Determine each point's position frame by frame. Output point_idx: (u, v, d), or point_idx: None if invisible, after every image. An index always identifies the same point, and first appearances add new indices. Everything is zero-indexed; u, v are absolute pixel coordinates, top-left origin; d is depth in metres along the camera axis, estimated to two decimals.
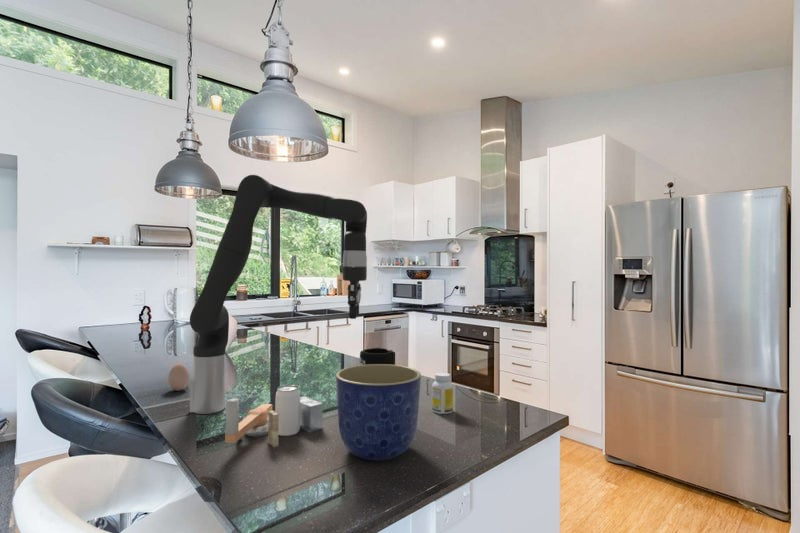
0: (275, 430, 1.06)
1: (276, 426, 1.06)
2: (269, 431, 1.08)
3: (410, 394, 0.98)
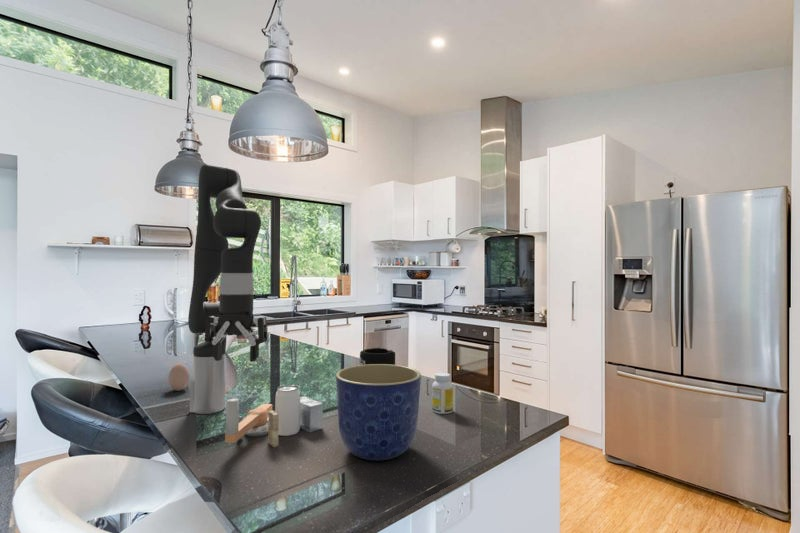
0: (275, 430, 1.06)
1: (276, 426, 1.06)
2: (269, 431, 1.08)
3: (410, 394, 0.98)
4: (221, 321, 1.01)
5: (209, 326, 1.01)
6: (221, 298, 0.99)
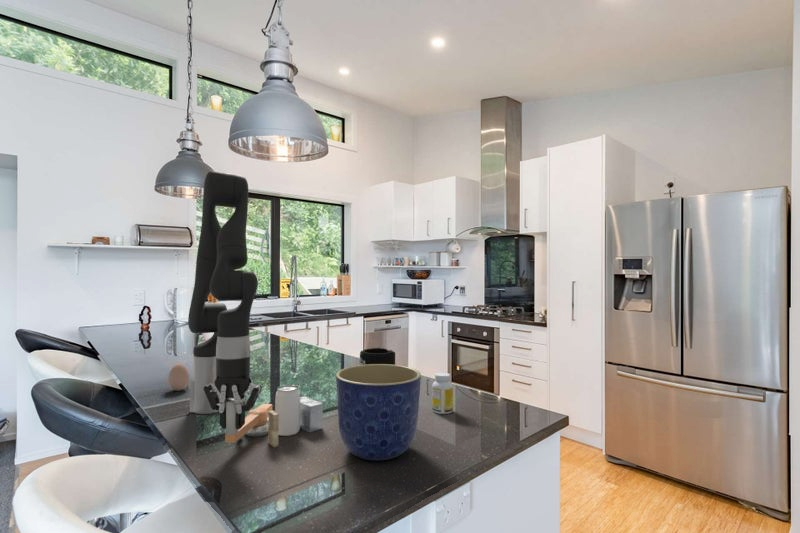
0: (275, 430, 1.06)
1: (276, 426, 1.06)
2: (269, 431, 1.08)
3: (410, 394, 0.98)
4: (218, 384, 1.00)
5: (210, 394, 1.00)
6: (217, 362, 0.98)
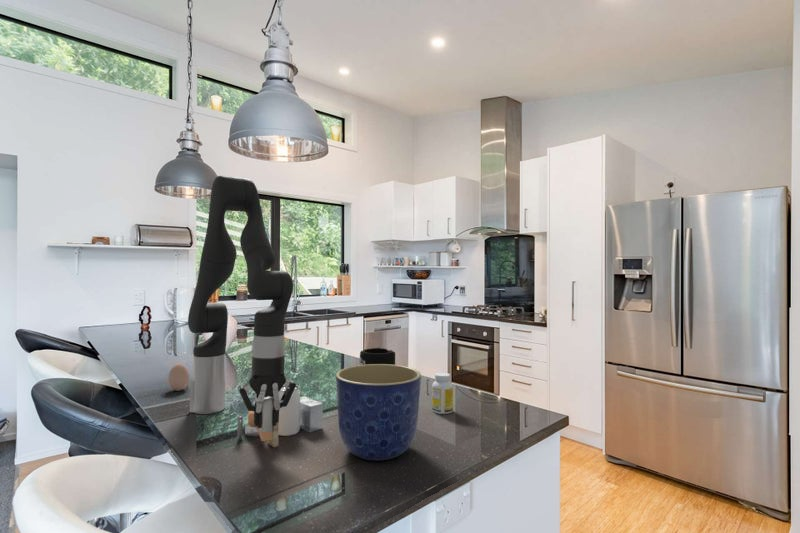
0: (275, 430, 1.06)
1: (276, 426, 1.06)
2: None
3: (410, 394, 0.98)
4: (255, 384, 1.00)
5: (246, 396, 0.99)
6: (261, 362, 0.99)
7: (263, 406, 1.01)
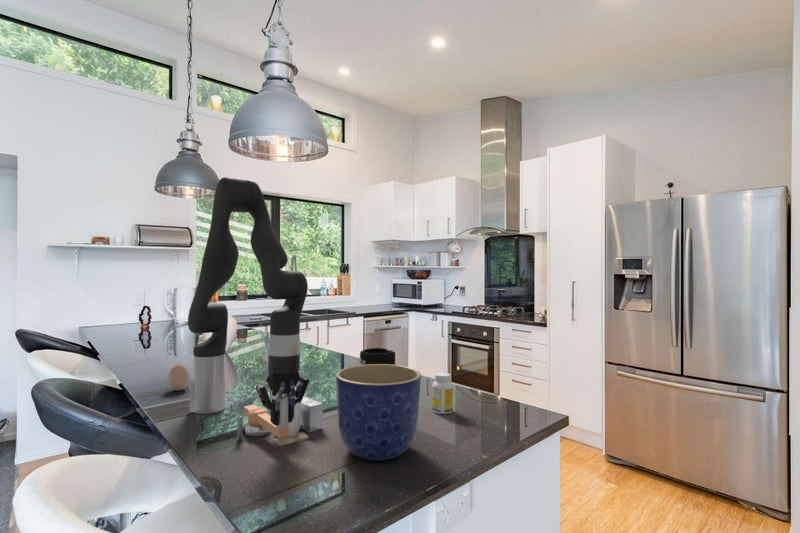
0: (294, 441, 1.09)
1: (297, 441, 1.10)
2: (286, 437, 1.11)
3: (410, 394, 0.98)
4: (274, 382, 1.02)
5: (266, 394, 1.00)
6: (282, 360, 1.01)
7: (281, 403, 1.03)
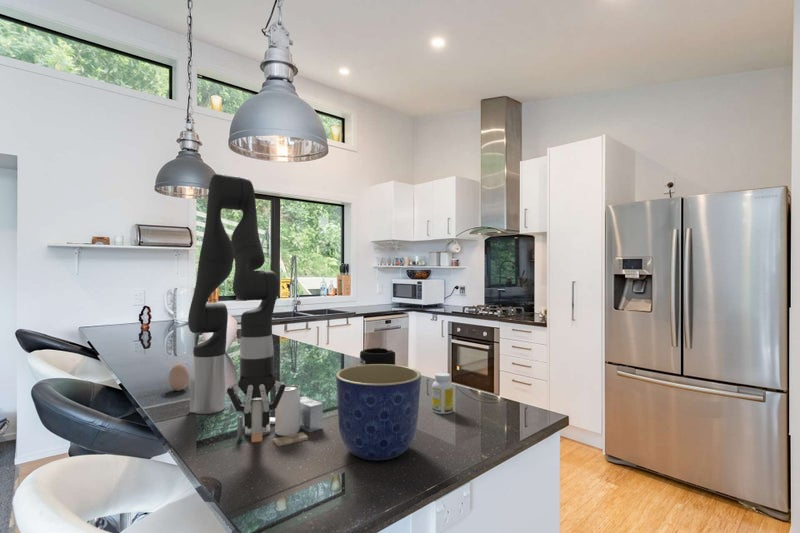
0: (293, 441, 1.09)
1: (296, 441, 1.10)
2: (285, 437, 1.11)
3: (410, 394, 0.98)
4: (242, 385, 1.00)
5: (234, 396, 1.00)
6: (245, 363, 0.98)
7: (253, 407, 1.00)
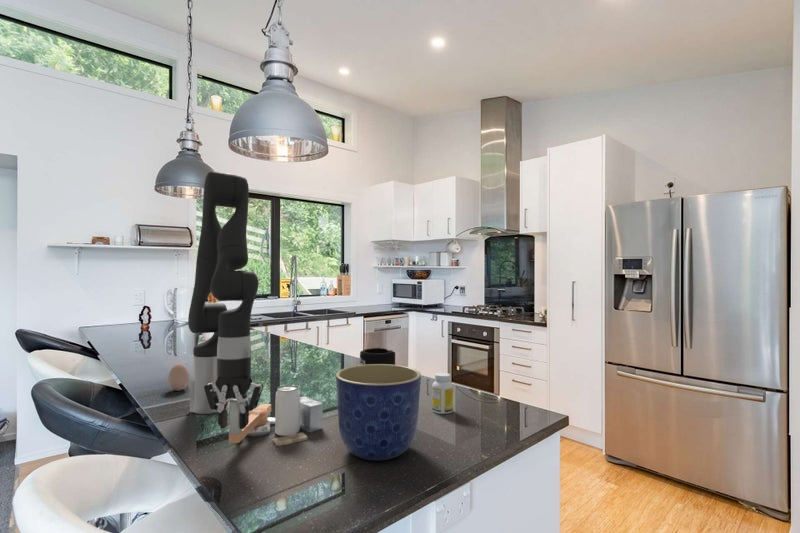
0: (292, 441, 1.09)
1: (296, 441, 1.09)
2: (285, 437, 1.11)
3: (410, 394, 0.98)
4: (219, 384, 1.00)
5: (210, 393, 1.00)
6: (218, 362, 0.98)
7: (230, 407, 1.00)
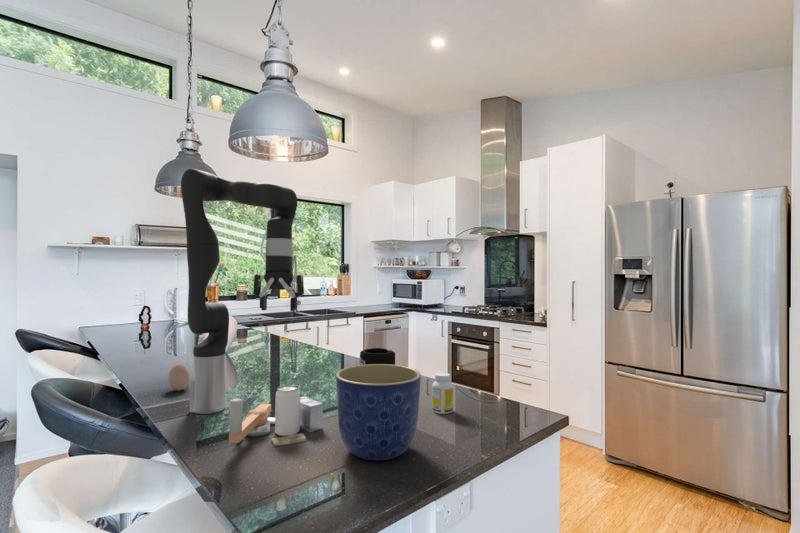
0: (290, 442, 1.09)
1: (294, 442, 1.09)
2: (284, 437, 1.11)
3: (410, 394, 0.98)
4: (267, 278, 1.23)
5: (257, 282, 1.24)
6: (267, 258, 1.22)
7: (230, 407, 1.00)
